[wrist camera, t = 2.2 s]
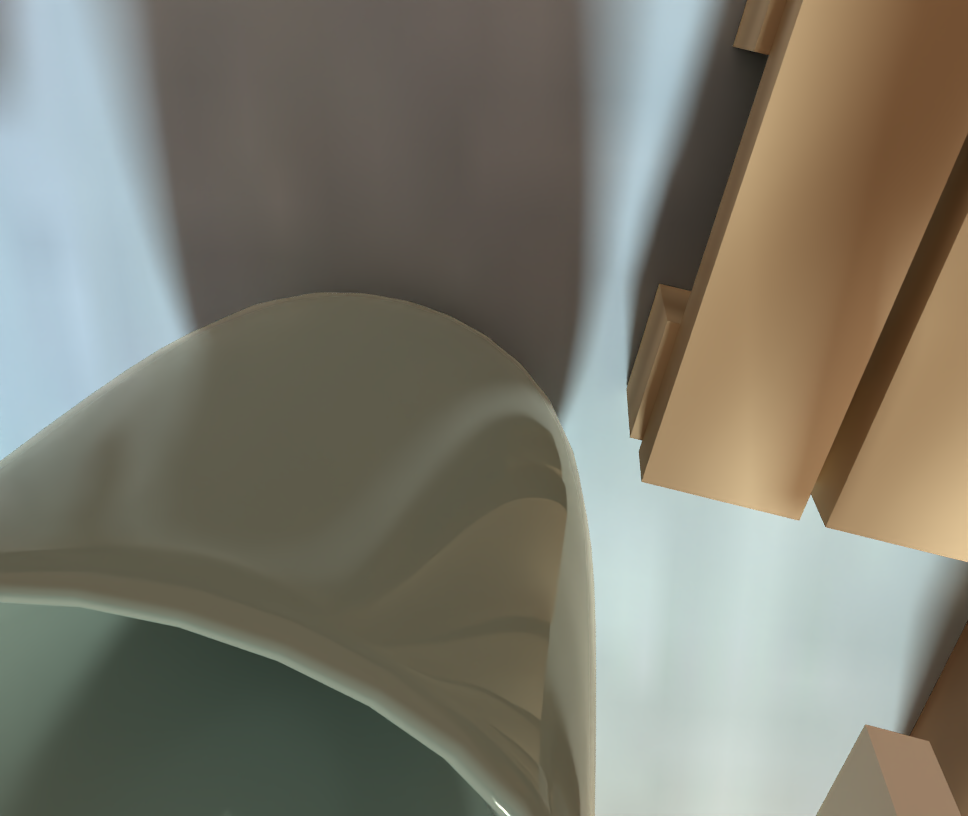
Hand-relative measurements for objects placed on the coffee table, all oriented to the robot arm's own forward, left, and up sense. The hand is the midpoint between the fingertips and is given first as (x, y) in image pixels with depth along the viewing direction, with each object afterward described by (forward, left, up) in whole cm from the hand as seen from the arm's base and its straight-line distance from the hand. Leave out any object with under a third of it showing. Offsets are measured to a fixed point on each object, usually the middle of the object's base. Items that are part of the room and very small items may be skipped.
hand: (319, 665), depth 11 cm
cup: (0, 0, -7) cm, 6 cm away
